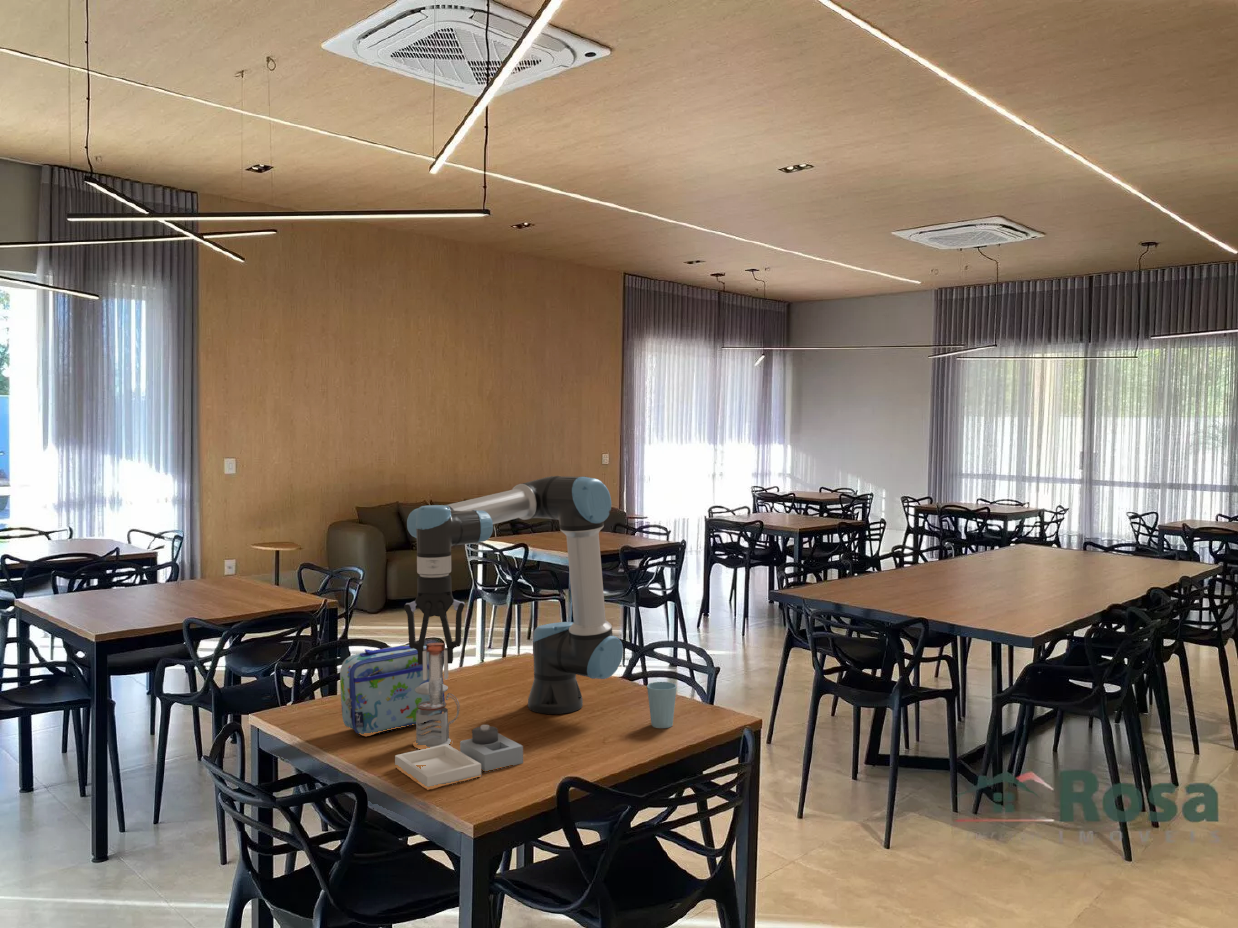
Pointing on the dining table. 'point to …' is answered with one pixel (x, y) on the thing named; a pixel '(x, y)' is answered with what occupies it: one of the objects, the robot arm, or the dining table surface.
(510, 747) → the grey block with knob
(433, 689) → the pin
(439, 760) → the parts tray
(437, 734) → the french press
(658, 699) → the cup
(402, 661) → the lunch box
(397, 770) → the dining table surface
